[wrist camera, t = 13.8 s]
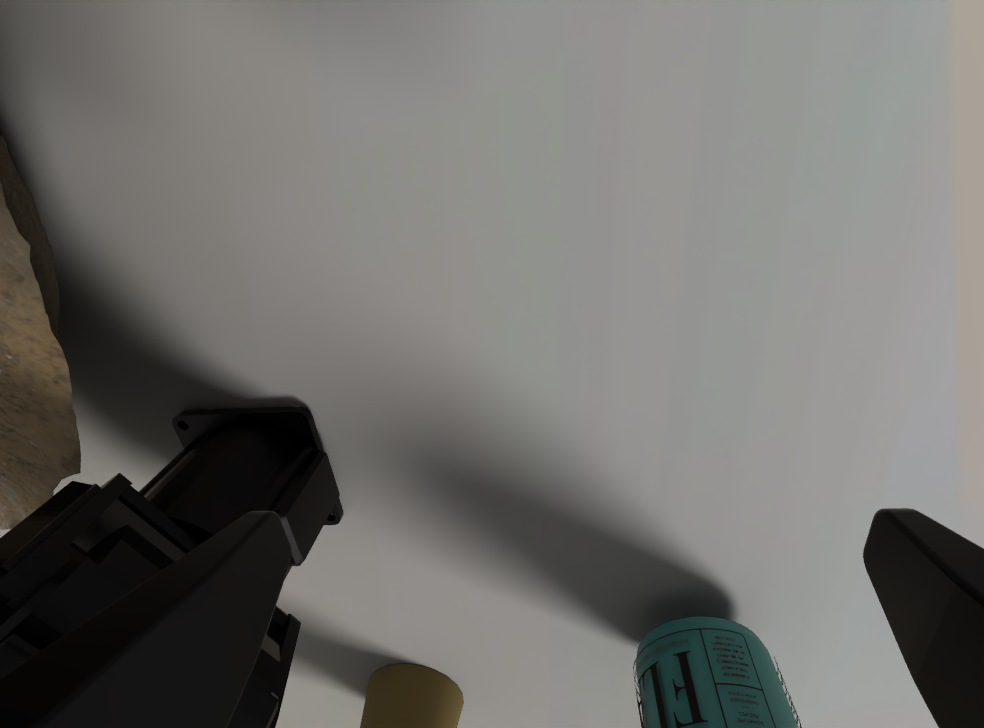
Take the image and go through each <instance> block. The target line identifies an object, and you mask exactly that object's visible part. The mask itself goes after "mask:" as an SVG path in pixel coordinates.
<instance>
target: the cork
mask: <svg viewBox="0 0 984 728" xmlns="http://www.w3.org/2000/svg"><path fill="white" fill-rule="evenodd" d="M463 703H464V701H463V693H462V692H461V690H460V689H459V687H458V686H457V684H456V683H454V682H453V681H452V680H451V679H450V678H448V677H447V676H446V675H444V674H442V673H440V672H438V671H436V670H434V669H431V668H427V667H423V666H420V665H412V664H396V665H388V666H386V667H383V668H381V669H379V670H377V671H376V672H375V673H374V674H373V675H372V676H371V677H370V681H369V684H368V689H367V695H366V700H365V705H364V710H363V715H362V721H361V726H360V728H457V725H458V721H459V718H460V714H461V711H462V707H463Z"/></svg>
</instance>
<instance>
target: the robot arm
mask: <svg viewBox="0 0 984 728" xmlns="http://www.w3.org/2000/svg"><path fill="white" fill-rule="evenodd" d="M297 417H300V418H301V419H302V420H303V421H300V420H299V419H298V418H297ZM184 421H185V422H186V423H187V424H186V423H185V422H184ZM172 423H173V426H174V429H175V431H176V433H177V435H178V437H179V439H180V441H181V443H182V445H183V448H184V450H182V451H181V452H180V453H179V454H178V455H177V456H176V457H175V458H174V459H173V460H172V461H171V462H170V463H169V464H168V465H167V466H166V467H165V468H163V469H162V470H161V471H160V472H159V473H158V474H157V475H156V476H155V477H154V478H153V479H152V480H151V481H150V482H149V483H148V484H147V485H146V486H145V487H143V488H142V489H141V490H140V491H139V492H138V491H136V490H135V489H134V488H133V487H132V486H130V485H131V484H132V483H131V482H130V481H129V480H128V479H127V478H125V477H124V476H123V475H122V474H121V473H119V474H117V475H116V476H115V477H113V478H112V479H111V480H109V481H108V482H107V483H105V484H104V485H102V486H101V487H99V486H98V485H97V484H93V485H90V484H85V483H80V482H75V481H72V482H70V483H69V484H68V485H67V486H65V487H64V488H63V489H61V490H60V491H59V492H58V493H56V494H55V495H54V496H53V497H51V498H50V499H49V500H48V501H46V502H45V503H44V504H43V505H41V506H40V507H39V508H38V509H36V510H35V511H34V512H33V513H31V514H30V515H29V516H28V517H26V518H25V519H24V520H23V521H21V522H20V523H19V524H17V525H16V526H15V527H14V528H12V529H11V530H10V531H9V532H7V533H6V534H5V535H4V536H2V537H1V538H0V728H275V726H276V723H277V720H278V716H279V712H280V708H281V704H282V699H283V695H284V691H285V687H286V683H287V679H288V675H289V671H290V666H291V662H292V658H293V654H294V650H295V646H296V642H297V638H298V633H299V629H300V625H301V622H300V621H299V620H297V619H296V618H295V617H294V616H293V615H291V614H288V615H287V614H286V613H285V612H284V611H282V610H281V609H280V608H279V607H277V606H276V603H277V600H278V597H279V594H280V591H281V588H282V585H283V582H284V580H285V578H286V576H287V574H288V573H289V571H290V569H291V567H292V566H300V565H301V564H302V562H303V561H304V560H305V559H306V557H307V555H308V553H309V551H310V549H311V547H312V546H313V544H314V542H315V540H316V538H317V536H318V535H319V533H320V531H321V529H322V527H323V525H336V524H338V523H339V522H340V520H341V518H342V516H343V509H342V506H341V503H340V500H339V495H340V494H339V491H338V488H337V484H336V481H335V478H334V475H333V472H332V469H331V466H330V463H329V459H328V456H327V454H326V453H325V451H324V450H323V447H322V444H321V441H320V438H319V435H318V431H317V428H316V425H315V422H314V419H313V416H312V414H311V412H310V411H309V410H307V409H306V408H304V407H276V408H250V409H224V410H198V411H183V412H180V413H179V414H178V415H177V416H176V417H174V418H173V421H172ZM330 513H331V514H330ZM332 514H333V515H332ZM863 558H864V564H865V567H866V570H867V573H868V575H869V577H870V580H871V582H872V584H873V587H874V589H875V592H876V594H877V596H878V599H879V601H880V603H881V606H882V608H883V610H884V613H885V615H886V617H887V620H888V622H889V625H890V627H891V629H892V632H893V634H894V636H895V639H896V641H897V643H898V646H899V648H900V651H901V653H902V655H903V658H904V660H905V662H906V664H907V667H908V669H909V671H910V673H911V675H912V678H913V680H914V682H915V684H916V686H917V688H918V690H919V692H920V694H921V695H922V697H923V699H924V701H925V703H926V705H927V707H928V709H929V710H930V712H931V714H932V716H933V718H934V720H935V721H936V723H937V725H938V727H939V728H984V549H983V548H981V547H980V546H978V545H976V544H974V543H972V542H971V541H969V540H967V539H966V538H964V537H962V536H961V535H959V534H957V533H955V532H954V531H952V530H950V529H948V528H947V527H945V526H943V525H941V524H940V523H938V522H936V521H934V520H933V519H931V518H929V517H927V516H926V515H924V514H922V513H920V512H918V511H916V510H913V509H908V508H900V509H880V510H878V511H877V512H876V513H875V515H874V517H873V521H872V524H871V527H870V531H869V534H868V537H867V540H866V544H865V547H864V552H863Z"/></svg>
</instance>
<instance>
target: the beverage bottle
mask: <svg viewBox="0 0 984 728" xmlns="http://www.w3.org/2000/svg"><path fill="white" fill-rule="evenodd" d="M636 659H637V660H635V662H636V672H637V674H635V675H637V678H638V684H637V683H636V684H637V685H639V686H638V687H639V691H640V694H639V697H640V698H641V701H640V704H641V705H642V715H643V721H642V717H641V712H640V704H639V701H638V697H637V702H638V708H639V714H640V720H641V727H642V728H798V725H797V724H798V722H797V721H798V720H799V721H800V719H798V715H797V712H796V711H794V712H793V713H794V714H795V712H796V715H797V716H796V718H797V719H798V720H797V719H796V720H797V721H796V720H795V718H794V715H793V713H792V710H791V708H792V707H790V705H789V702H788V700H787V697H786V694H787V693H786V694H785V692H784V689H783V687H782V685H783V682H784V681H783V680H782V681H781V682H780V679H779V677H778V673H777V672H776V669H775V666H774V664H773V661H772V659H771V656H770V654H769V652H768V650H767V649H766V647H765V646H764V645H763V643H762V642H761V641H760V639H759V638H758V637H757V636H756V635H755V634H754V633H753V632H752V631H751V630H749V629H748V628H746V627H745V626H743V625H741V624H738V623H736V622H733V621H730V620H726V619H722V618H716V617H687V618H681V619H677V620H673V621H669V622H667V623H664V624H662V625H660V626H658V627H656V628H654V629H653V630H651V631H650V632H649V633H648V634H647V635H646V636H645V637H644V638H643V639H642V641H641V642H640V644H639V647H638V651H637V658H636ZM774 659H775V657H774ZM775 660H776V659H775ZM635 662H634V664H635ZM776 662H777V661H776ZM776 664H777V663H776ZM777 666H778V665H777ZM633 669H634V667H633ZM778 669H779V668H778ZM636 672H635V673H636ZM779 672H780V671H779ZM633 674H634V673H633ZM780 674H781V672H780ZM634 677H635V676H634ZM635 678H636V677H635ZM635 678H634V679H635ZM781 678H782V679H783V677H782V674H781ZM781 683H782V684H781ZM784 684H785V683H784ZM785 687H786V685H785ZM786 690H787V689H786ZM787 692H788V691H787ZM638 693H639V692H638ZM788 693H789V692H788ZM636 695H637V687H636ZM788 695H789V694H788ZM789 697H790V695H789ZM790 698H791V697H790ZM790 698H789V699H790ZM790 700H791V699H790ZM791 703H793V702H792V700H791ZM792 705H793V704H791V706H792ZM793 707H794V705H793ZM794 710H796V709H795V707H794ZM799 723H800V722H799ZM643 724H644V726H643ZM800 728H802V727H801V723H800Z"/></svg>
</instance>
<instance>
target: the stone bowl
mask: <svg viewBox="0 0 984 728" xmlns="http://www.w3.org/2000/svg"><path fill="white" fill-rule="evenodd" d="M59 302H60V295H59V287H58V280H57V277H56V274H55V268H54V263H53V255H52V248H51V245H49V242H48V239H47V235H46V233H45V230H44V228H43V226H42V224H41V221H40V219H39V216H38V213H37V210H36V207H35V204H34V201H33V198H32V195H31V194H30V192H29V191H28V190H27V188H26V186H25V184H24V183H23V181H22V179H21V177H20V175H19V174H18V172H17V170H16V168H15V166H14V164H13V162H12V160H11V158H10V155H9V153H8V151H7V144H6V140H5V139H4V138H3V137H1V136H0V529H12V528H14V527H15V526H16V525H17V524H19V523H20V522H21V521H23V520H24V519H25V518H26V517H28V516H29V515H30V514H31V513H33V512H34V511H35V510H36V509H38V508H39V507H40V506H41V505H43V504H44V503H45V502H46V501H48V500H49V499H50V498H51V497H53V491H54V489H55V488H56V487H57V486H58V484H59V483H60V481H61V480H62V479H64V478H66V477H69V476H71V475H74V474H78V473H80V466H81V452H80V442H79V434H78V430H77V426H76V417H75V413H74V410H73V394H72V388H71V382H70V376H69V367H68V364H67V362H66V359H65V356H64V353H63V350H62V348H61V346H60V345H59V343H58V333H59V331H58V325H59Z"/></svg>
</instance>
